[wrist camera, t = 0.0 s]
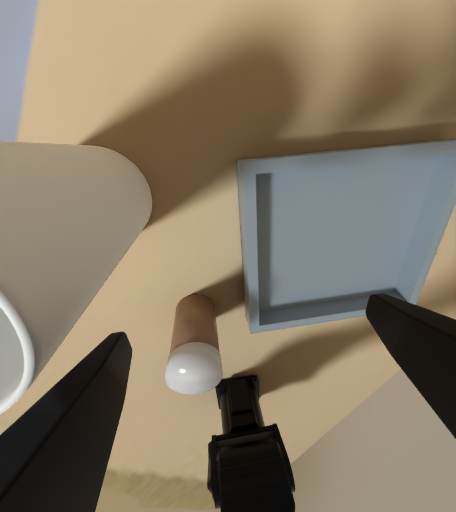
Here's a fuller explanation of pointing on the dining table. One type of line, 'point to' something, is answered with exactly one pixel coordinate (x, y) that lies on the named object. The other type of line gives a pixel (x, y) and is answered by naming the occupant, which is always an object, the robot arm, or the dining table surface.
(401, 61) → the dining table surface
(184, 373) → the shaker
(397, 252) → the tray
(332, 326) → the dining table surface
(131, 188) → the cup
